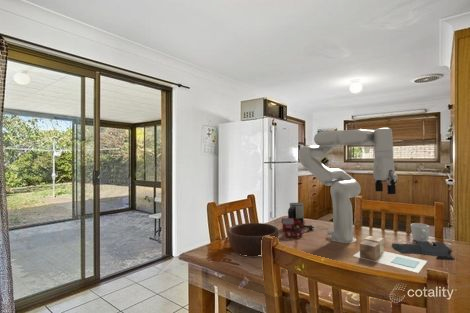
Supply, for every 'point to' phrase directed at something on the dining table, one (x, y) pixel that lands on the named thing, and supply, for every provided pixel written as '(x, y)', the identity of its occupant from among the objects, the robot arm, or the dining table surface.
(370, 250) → the walnut block
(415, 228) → the cup
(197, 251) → the dining table surface
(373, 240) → the birch block
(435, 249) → the dark slate chunk
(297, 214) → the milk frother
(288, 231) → the toy fire truck
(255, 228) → the wooden bowl
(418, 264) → the build plate
